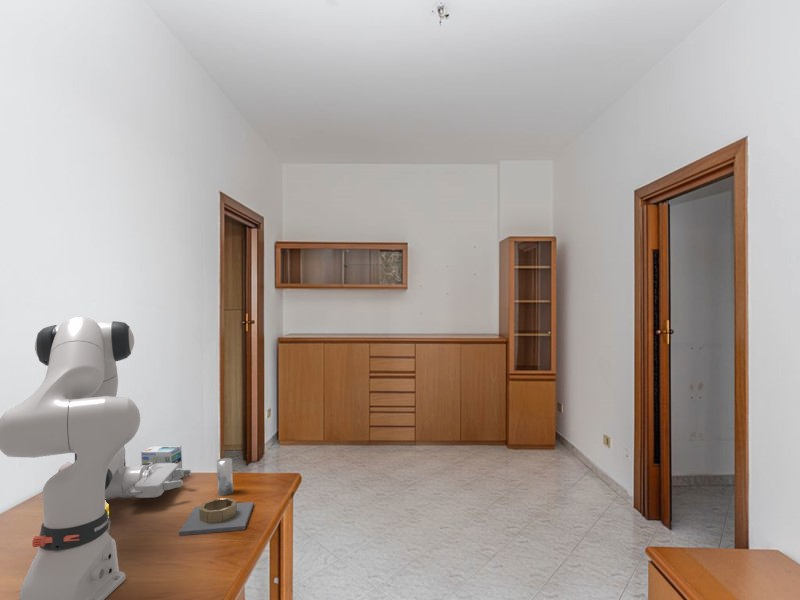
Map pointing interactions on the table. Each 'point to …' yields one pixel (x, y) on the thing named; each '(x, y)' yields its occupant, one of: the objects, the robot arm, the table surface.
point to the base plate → (234, 524)
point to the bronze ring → (218, 510)
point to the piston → (224, 476)
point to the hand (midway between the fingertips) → (186, 477)
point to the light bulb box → (163, 456)
